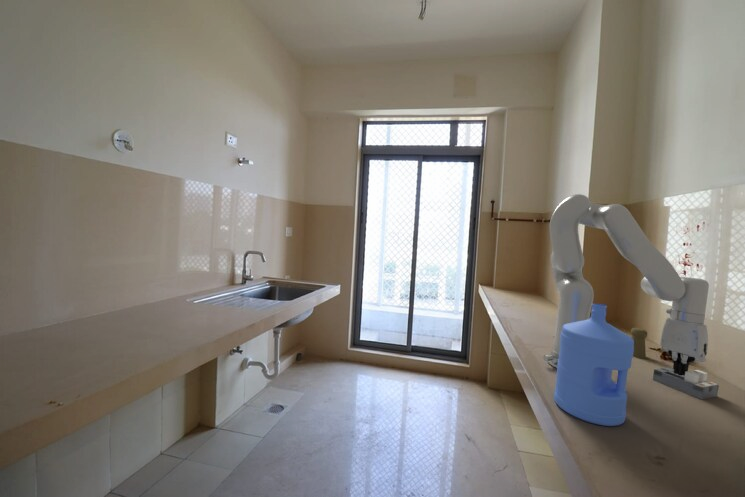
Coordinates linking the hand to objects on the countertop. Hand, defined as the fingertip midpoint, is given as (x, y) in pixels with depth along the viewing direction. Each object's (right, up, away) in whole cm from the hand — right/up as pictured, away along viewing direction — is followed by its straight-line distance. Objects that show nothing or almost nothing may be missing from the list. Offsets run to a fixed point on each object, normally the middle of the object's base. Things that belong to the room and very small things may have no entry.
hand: (679, 373), depth 101 cm
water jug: (-41, -3, -17) cm, 44 cm away
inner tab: (+1, -3, -3) cm, 4 cm away
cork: (+9, -4, +28) cm, 30 cm away
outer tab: (+5, -3, -1) cm, 6 cm away
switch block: (+2, -5, +1) cm, 5 cm away
